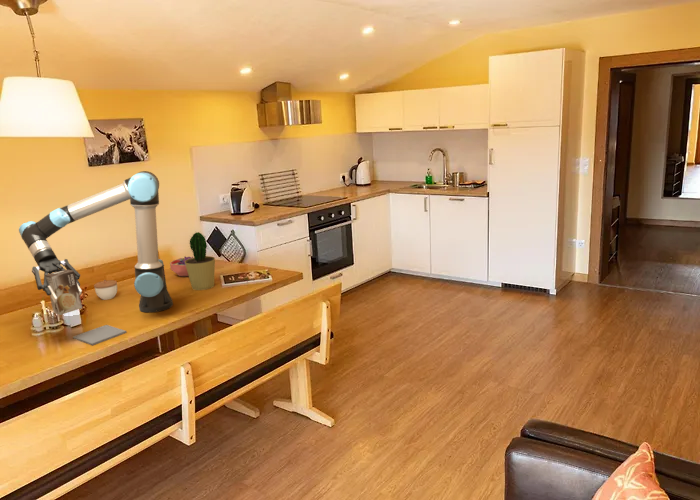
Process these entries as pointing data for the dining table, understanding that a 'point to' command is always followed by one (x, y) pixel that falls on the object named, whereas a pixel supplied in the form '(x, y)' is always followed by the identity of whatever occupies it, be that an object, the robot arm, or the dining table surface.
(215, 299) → the dining table surface
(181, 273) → the cell model
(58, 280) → the coffee box
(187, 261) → the potted cactus
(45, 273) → the robot arm
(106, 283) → the lidded jar
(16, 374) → the dining table surface
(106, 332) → the mat
